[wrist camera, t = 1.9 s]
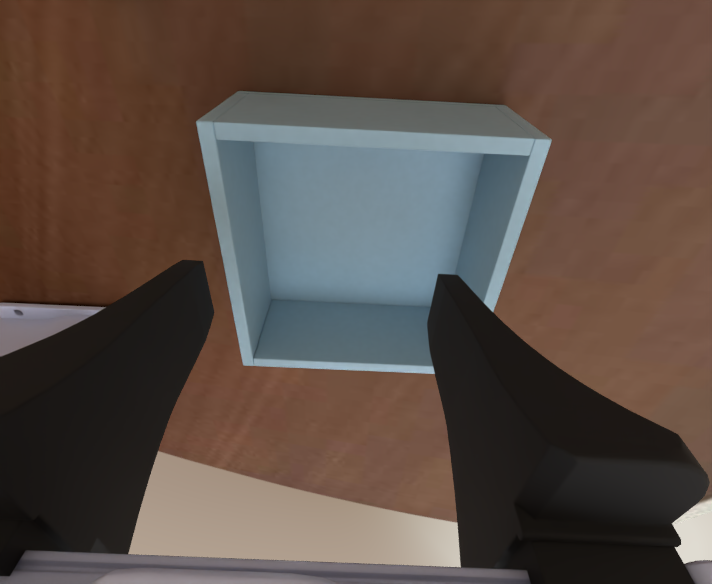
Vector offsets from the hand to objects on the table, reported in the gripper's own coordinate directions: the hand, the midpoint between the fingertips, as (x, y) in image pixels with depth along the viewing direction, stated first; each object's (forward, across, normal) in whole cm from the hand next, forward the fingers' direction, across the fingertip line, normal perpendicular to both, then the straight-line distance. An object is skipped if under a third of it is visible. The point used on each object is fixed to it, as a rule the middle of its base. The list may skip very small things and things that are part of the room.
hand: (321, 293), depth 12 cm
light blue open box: (+10, -2, +2) cm, 10 cm away
